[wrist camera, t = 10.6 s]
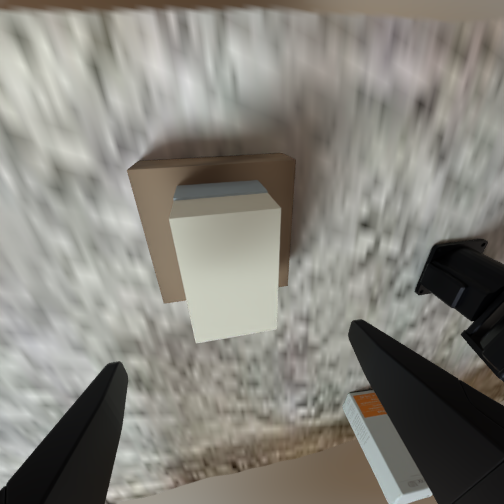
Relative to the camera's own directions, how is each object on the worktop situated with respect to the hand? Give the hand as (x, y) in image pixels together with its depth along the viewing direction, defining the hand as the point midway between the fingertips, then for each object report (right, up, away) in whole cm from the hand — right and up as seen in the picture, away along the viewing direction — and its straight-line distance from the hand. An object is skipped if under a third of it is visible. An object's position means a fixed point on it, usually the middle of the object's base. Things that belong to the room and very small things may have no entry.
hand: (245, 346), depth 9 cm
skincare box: (+18, -20, +30) cm, 40 cm away
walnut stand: (-2, +6, +10) cm, 12 cm away
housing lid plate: (-1, +3, +6) cm, 6 cm away
